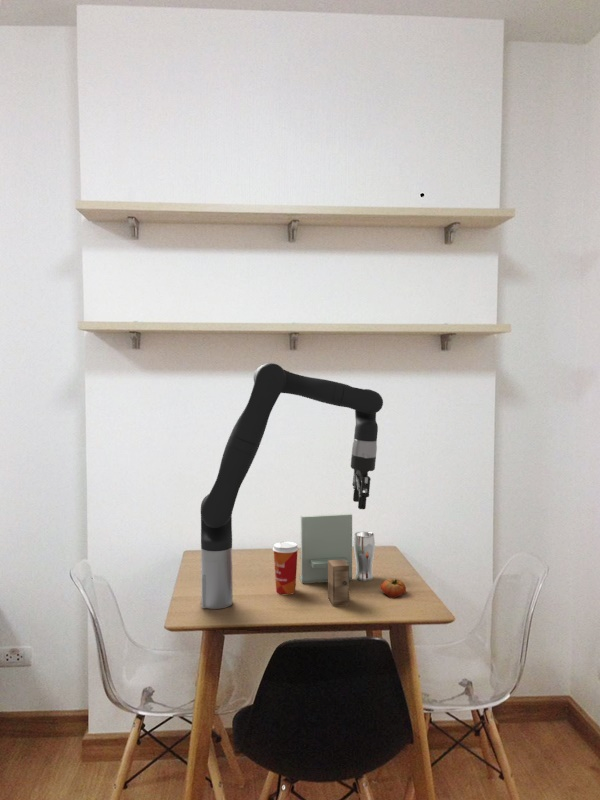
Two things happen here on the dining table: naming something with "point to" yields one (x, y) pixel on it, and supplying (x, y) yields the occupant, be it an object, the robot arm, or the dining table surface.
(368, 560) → the beer glass
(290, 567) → the coffee cup
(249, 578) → the dining table surface
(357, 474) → the robot arm
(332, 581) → the cabinet
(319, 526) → the wall board
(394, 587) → the tomato
